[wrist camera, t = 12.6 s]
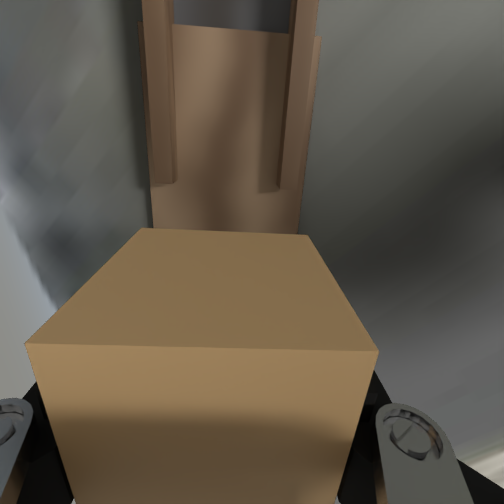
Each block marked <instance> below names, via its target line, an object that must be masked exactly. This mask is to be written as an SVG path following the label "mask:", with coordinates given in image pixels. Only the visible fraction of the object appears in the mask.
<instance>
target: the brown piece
mask: <svg viewBox="0 0 504 504" xmlns="http://www.w3.org/2000/svg"><path fill="white" fill-rule="evenodd" d="M318 3H319V0H142V12H143V21H137V23H138V36H139V49H140V62H141V74H142V87H143V100H144V113H145V126H146V138H147V151H148V164H149V177H150V189H151V202H152V215H153V228H159V229H182V230H205V231H228V232H251V233H273V234H296V235H297V233H298V225H299V217H300V209H301V201H302V193H303V185H304V177H305V169H306V161H307V153H308V144H309V136H310V128H311V120H312V112H313V104H314V96H315V88H316V80H317V72H318V64H319V56H320V48H321V40H322V37H321V36H315V29H316V20H317V12H318Z"/></svg>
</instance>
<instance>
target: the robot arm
mask: <svg viewBox="0 0 504 504" xmlns="http://www.w3.org/2000/svg"><path fill="white" fill-rule="evenodd" d="M337 496H338V500H339V502H340V503H341V504H504V489H503V488H502V487H500V486H498V485H497V484H495V483H494V482H492V481H491V480H489V479H488V478H486V477H484V476H483V475H481V474H480V473H478V472H477V471H475V470H474V469H472V468H470V467H469V466H467V465H466V464H464V463H463V462H461V461H459V460H458V459H456V456H455V453H454V451H453V448H452V446H451V443H450V441H449V439H448V438H447V436H446V434H445V432H444V431H443V430H442V429H441V428H440V426H439V425H438V424H437V423H436V422H435V421H434V420H432V419H431V418H430V417H429V416H428V415H426V414H425V413H423V412H421V411H419V410H418V409H416V408H414V407H411V406H408V405H405V404H398V403H392V402H391V400H390V398H389V396H388V394H387V393H386V391H385V389H384V387H383V385H382V384H381V382H380V380H379V378H378V376H377V374H376V373H375V371H374V370H373V374H372V377H371V381H370V384H369V387H368V391H367V394H366V397H365V401H364V404H363V408H362V411H361V414H360V418H359V421H358V425H357V428H356V431H355V435H354V438H353V441H352V445H351V448H350V452H349V455H348V458H347V462H346V465H345V469H344V472H343V475H342V479H341V482H340V485H339V489H338V492H337ZM73 499H74V496H73V493H72V490H71V487H70V484H69V481H68V478H67V474H66V471H65V468H64V465H63V462H62V459H61V456H60V453H59V449H58V446H57V443H56V440H55V437H54V434H53V431H52V428H51V425H50V421H49V418H48V415H47V412H46V409H45V406H44V403H43V400H42V396H41V393H40V390H39V387H38V384H37V381H36V383H35V384H34V385H33V386H32V387H31V388H30V390H29V391H28V392H27V393H26V395H25V396H24V397H23V398H22V399H18V398H9V399H2V400H0V504H71V503H72V501H73Z"/></svg>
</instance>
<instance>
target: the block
mask: <svg viewBox="0 0 504 504" xmlns="http://www.w3.org/2000/svg"><path fill="white" fill-rule="evenodd" d="M25 347H26V349H27V353H28V356H29V359H30V362H31V365H32V368H33V372H34V375H35V378H36V381H37V384H38V387H39V390H40V393H41V396H42V400H43V403H44V406H45V409H46V412H47V415H48V418H49V421H50V425H51V428H52V431H53V434H54V437H55V440H56V443H57V446H58V449H59V453H60V456H61V459H62V462H63V465H64V468H65V471H66V474H67V478H68V481H69V484H70V487H71V490H72V493H73V496H74V499H75V502H76V504H334V502H335V499H336V496H337V492H338V489H339V485H340V482H341V479H342V475H343V472H344V469H345V465H346V462H347V458H348V455H349V452H350V448H351V445H352V441H353V438H354V435H355V431H356V428H357V425H358V421H359V418H360V414H361V411H362V408H363V404H364V401H365V397H366V394H367V391H368V387H369V384H370V381H371V377H372V374H373V370H374V367H375V364H376V360H377V357H378V354H379V351H378V349H377V347H376V346H375V344H374V342H373V341H372V339H371V338H370V336H369V334H368V333H367V331H366V329H365V328H364V326H363V324H362V323H361V321H360V320H359V318H358V316H357V315H356V313H355V311H354V310H353V308H352V306H351V305H350V303H349V302H348V300H347V298H346V297H345V295H344V293H343V292H342V290H341V289H340V287H339V285H338V284H337V282H336V280H335V279H334V277H333V275H332V274H331V272H330V271H329V269H328V267H327V266H326V264H325V262H324V261H323V259H322V257H321V256H320V254H319V253H318V251H317V249H316V248H315V246H314V244H313V243H312V241H311V240H310V238H309V236H308V235H296V234H273V233H251V232H228V231H205V230H182V229H159V228H141V229H140V230H139V231H138V232H137V233H136V234H135V235H134V236H133V237H132V238H131V239H130V240H129V241H128V242H127V243H126V244H124V245H123V246H122V247H121V248H120V249H119V250H118V251H117V252H116V253H115V254H114V255H113V256H112V257H111V258H110V259H109V260H108V261H107V262H106V263H105V264H104V265H103V266H102V267H101V268H100V269H99V270H98V271H97V272H96V273H95V274H94V275H93V276H92V277H91V278H90V279H89V280H88V281H87V282H86V283H85V284H84V285H83V286H82V287H81V288H80V289H79V290H78V291H77V292H76V293H75V294H74V295H73V296H72V297H71V298H70V299H69V300H68V301H67V302H66V303H65V304H64V305H63V306H62V307H61V308H60V309H59V310H58V311H57V312H56V313H55V314H54V315H53V316H52V317H51V318H50V319H49V320H48V321H47V322H46V323H45V324H44V325H43V326H42V327H41V328H39V330H37V332H36V333H34V334H33V335H32V336H31V337H30V338H29V339H28V340H27V341H26V342H25Z"/></svg>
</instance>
